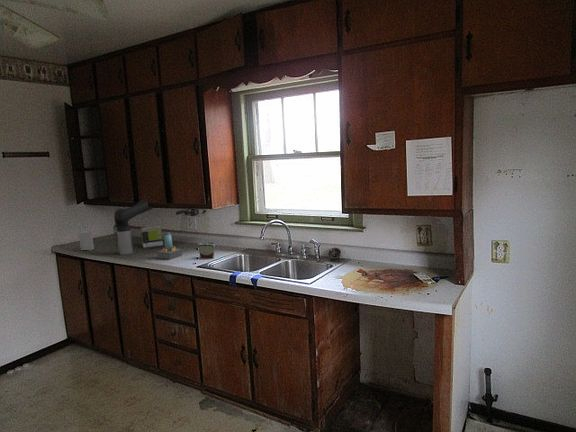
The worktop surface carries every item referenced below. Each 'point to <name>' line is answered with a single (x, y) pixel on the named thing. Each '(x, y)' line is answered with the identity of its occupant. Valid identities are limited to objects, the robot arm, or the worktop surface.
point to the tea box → (151, 236)
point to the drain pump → (168, 241)
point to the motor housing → (169, 253)
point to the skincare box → (86, 240)
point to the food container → (206, 250)
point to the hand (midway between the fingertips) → (180, 213)
